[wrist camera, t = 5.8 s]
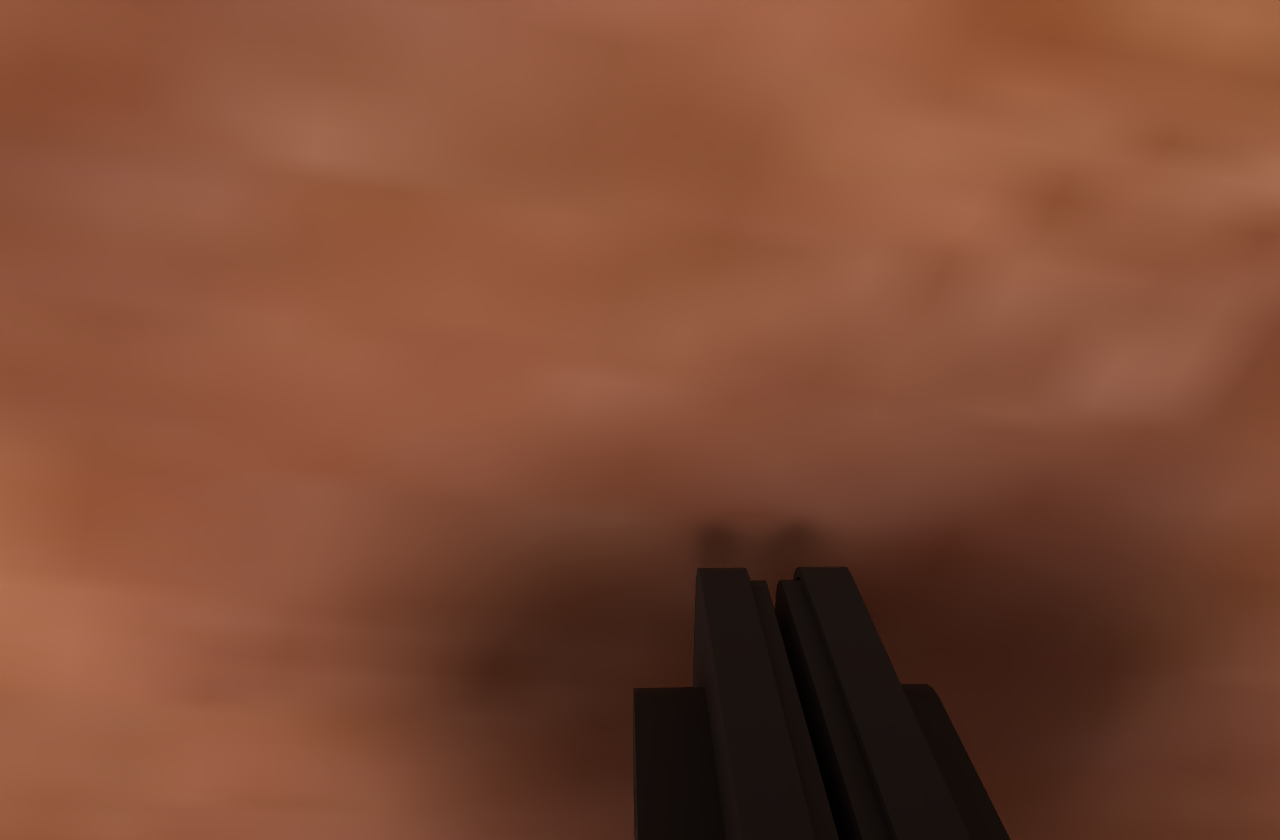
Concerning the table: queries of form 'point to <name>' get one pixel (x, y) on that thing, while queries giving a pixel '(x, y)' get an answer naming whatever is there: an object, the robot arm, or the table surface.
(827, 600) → the robot arm
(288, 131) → the table surface
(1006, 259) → the table surface
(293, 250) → the table surface
